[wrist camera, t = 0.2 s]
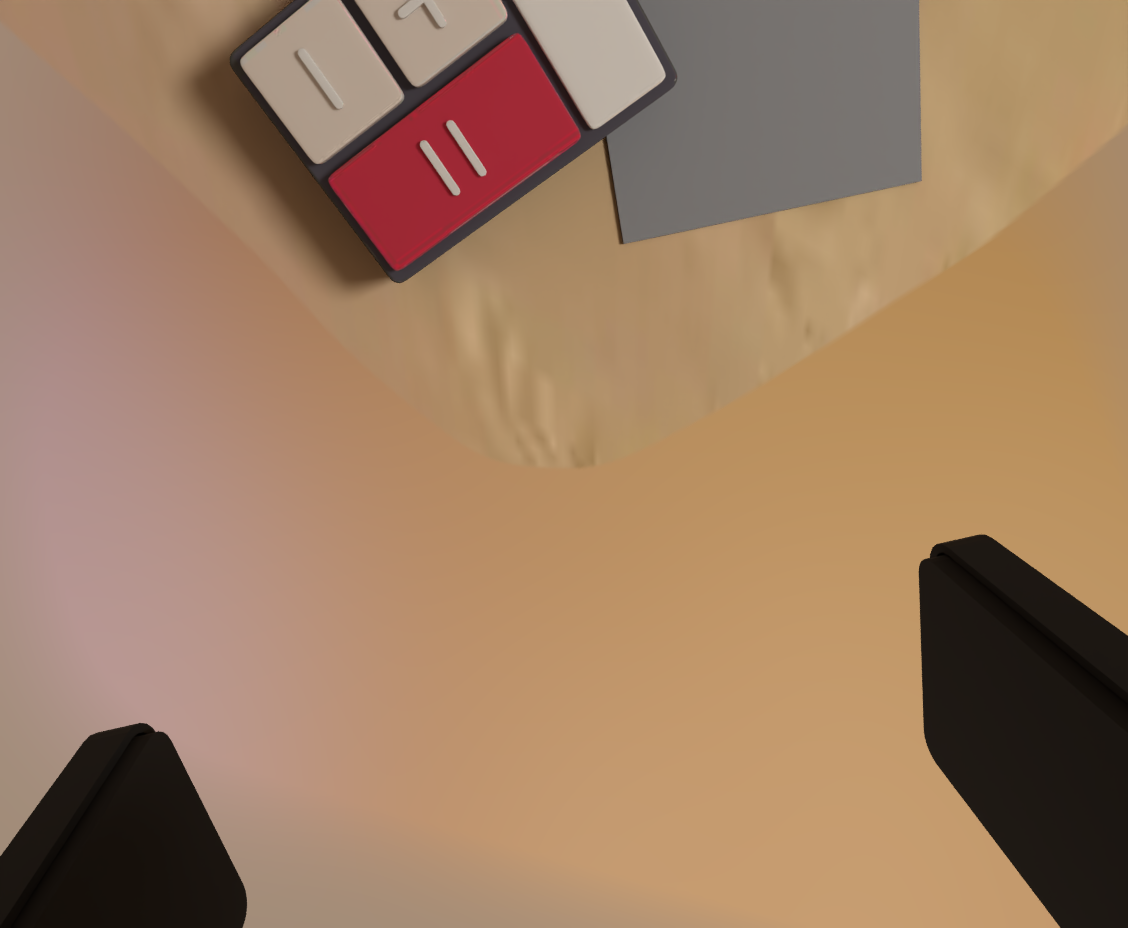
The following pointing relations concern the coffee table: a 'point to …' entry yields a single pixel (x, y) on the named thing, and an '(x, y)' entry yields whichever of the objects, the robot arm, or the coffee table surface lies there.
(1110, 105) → the coffee table surface
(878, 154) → the desk mat
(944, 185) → the coffee table surface
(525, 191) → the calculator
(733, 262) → the coffee table surface
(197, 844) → the robot arm
